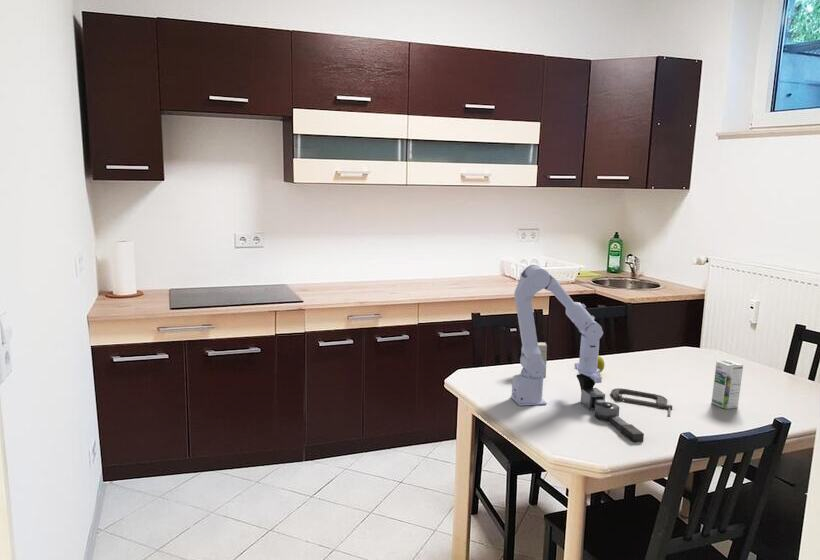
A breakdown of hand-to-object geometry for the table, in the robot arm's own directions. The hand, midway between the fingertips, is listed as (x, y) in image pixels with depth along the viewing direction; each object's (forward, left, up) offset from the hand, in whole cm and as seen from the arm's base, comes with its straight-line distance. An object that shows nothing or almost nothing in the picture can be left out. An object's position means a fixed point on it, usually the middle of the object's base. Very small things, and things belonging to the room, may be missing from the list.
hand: (585, 396), depth 192 cm
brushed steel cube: (0, -5, -1) cm, 5 cm away
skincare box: (-6, +26, -2) cm, 27 cm away
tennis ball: (+17, +26, -2) cm, 32 cm away
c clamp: (+18, -3, -2) cm, 19 cm away
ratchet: (0, -18, -1) cm, 18 cm away
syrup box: (+44, -10, -2) cm, 45 cm away
